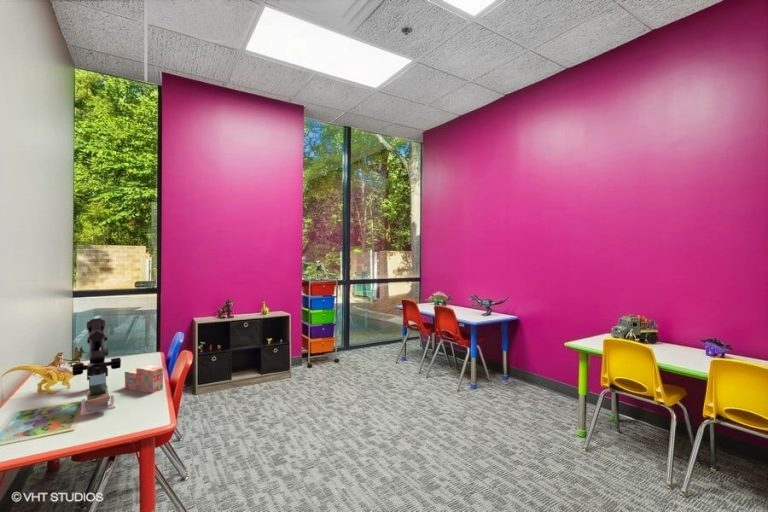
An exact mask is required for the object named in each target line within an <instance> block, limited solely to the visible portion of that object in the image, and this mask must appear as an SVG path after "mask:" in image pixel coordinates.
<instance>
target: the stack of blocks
mask: <svg viewBox="0 0 768 512" xmlns="http://www.w3.org/2000/svg"><path fill="white" fill-rule="evenodd" d="M124 387H125V389H128V388H129V389H128V390H133V389H135V390H134V391H138V390H140V391H139V392H143V391H145V392H144V393H148V392H149V394H155V393H157V391H158V392H160V391H163V390H164V367H163V366H162V367H161V366H158V365H157V366H156V365H150V364H149V365H148V364H145V365H142V366H140V367H136V368H133V369H132V368H131V369H129V370H126V371H124ZM162 389H163V390H162ZM154 392H155V393H154Z"/></svg>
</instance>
